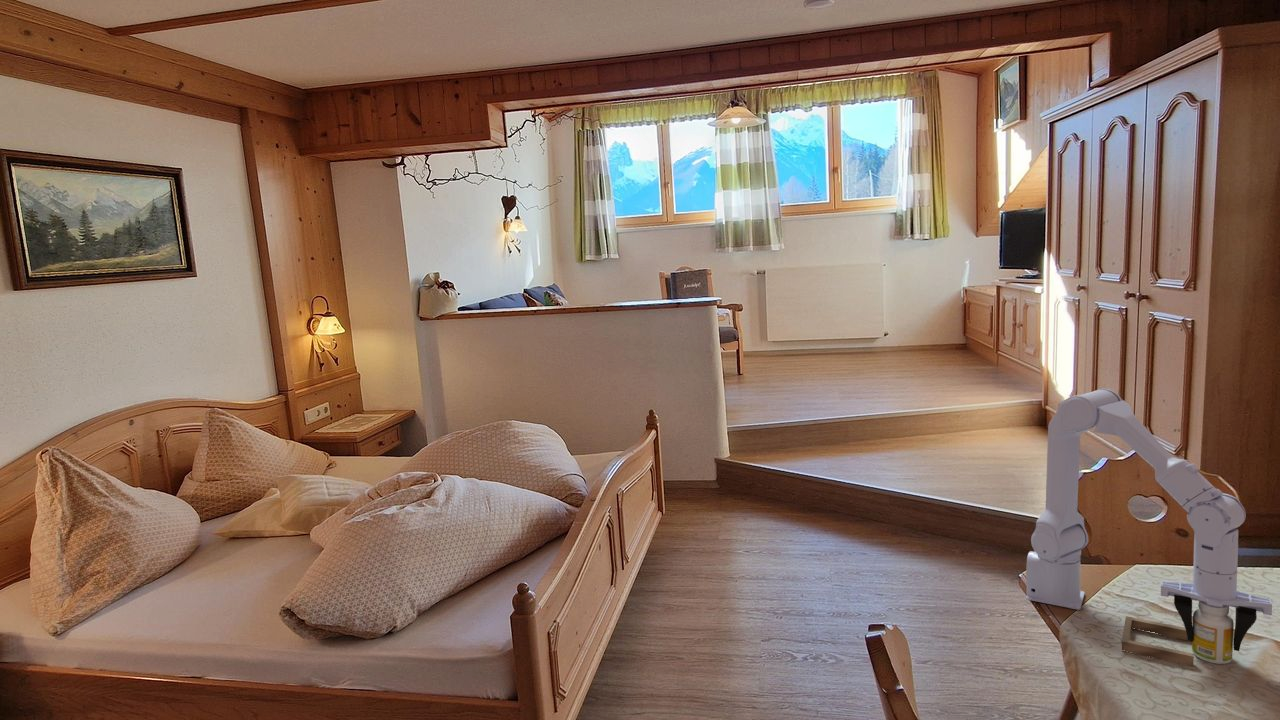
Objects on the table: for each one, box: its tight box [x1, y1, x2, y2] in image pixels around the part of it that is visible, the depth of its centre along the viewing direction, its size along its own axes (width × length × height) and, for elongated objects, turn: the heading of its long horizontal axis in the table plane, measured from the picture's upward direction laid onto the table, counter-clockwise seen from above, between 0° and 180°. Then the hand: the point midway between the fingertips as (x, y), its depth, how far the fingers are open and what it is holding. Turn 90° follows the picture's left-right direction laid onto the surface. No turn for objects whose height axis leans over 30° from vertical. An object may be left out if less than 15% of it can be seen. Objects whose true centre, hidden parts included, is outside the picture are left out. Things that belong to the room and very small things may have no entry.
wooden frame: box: [1121, 615, 1195, 667], centre depth 126 cm, size 10×10×2 cm
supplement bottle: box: [1191, 601, 1235, 665], centre depth 121 cm, size 5×5×10 cm
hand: (1212, 643), depth 121 cm, fingers open, 5 cm apart
